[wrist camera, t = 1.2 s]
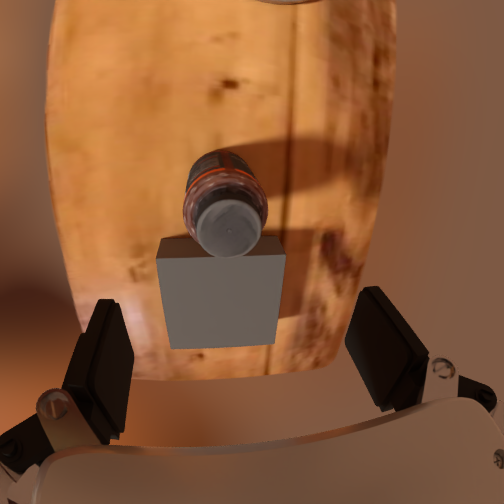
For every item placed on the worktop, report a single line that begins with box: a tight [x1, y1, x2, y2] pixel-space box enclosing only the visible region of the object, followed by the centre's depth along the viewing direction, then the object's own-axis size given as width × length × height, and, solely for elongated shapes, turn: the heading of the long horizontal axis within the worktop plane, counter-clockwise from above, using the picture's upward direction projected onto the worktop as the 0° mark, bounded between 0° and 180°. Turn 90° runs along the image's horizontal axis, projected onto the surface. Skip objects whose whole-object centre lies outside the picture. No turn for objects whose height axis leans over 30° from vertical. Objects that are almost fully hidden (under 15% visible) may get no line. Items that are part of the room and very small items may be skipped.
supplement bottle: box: [183, 151, 268, 259], centre depth 22 cm, size 6×6×11 cm
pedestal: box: [156, 236, 286, 349], centre depth 31 cm, size 12×12×4 cm
